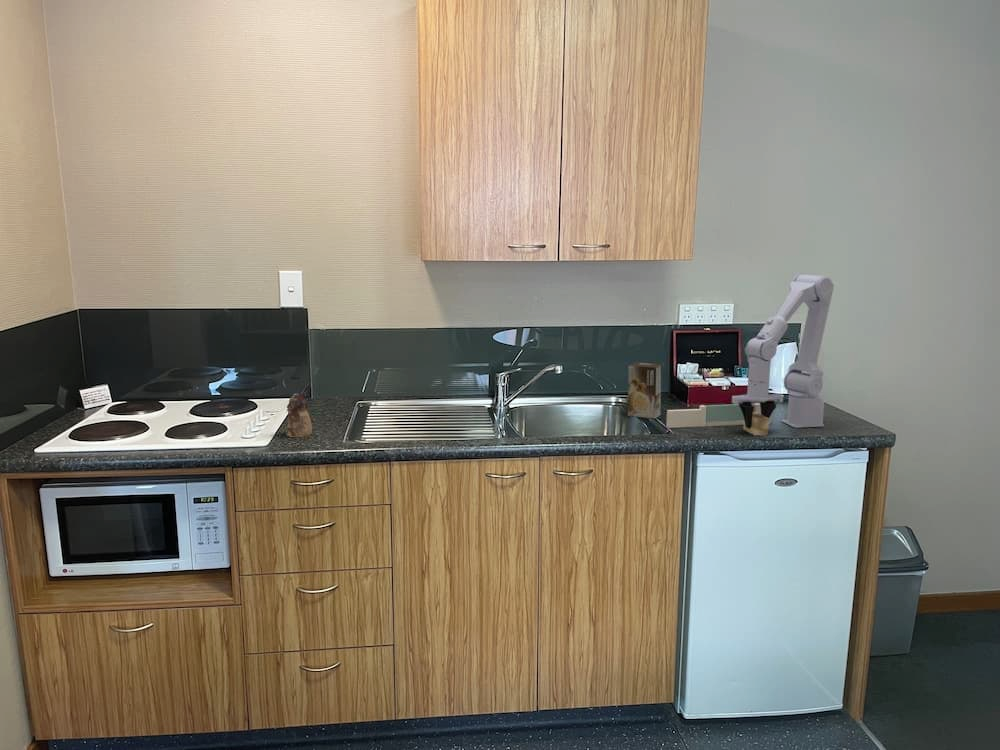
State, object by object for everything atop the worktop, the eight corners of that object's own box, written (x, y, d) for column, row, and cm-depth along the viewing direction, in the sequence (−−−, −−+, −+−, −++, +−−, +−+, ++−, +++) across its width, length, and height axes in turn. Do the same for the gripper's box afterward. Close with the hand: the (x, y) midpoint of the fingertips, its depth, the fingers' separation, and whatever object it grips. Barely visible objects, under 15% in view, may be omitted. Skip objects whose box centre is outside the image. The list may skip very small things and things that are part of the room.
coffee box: (661, 414, 243) (663, 364, 240) (655, 419, 238) (657, 367, 234) (633, 411, 247) (634, 361, 244) (626, 416, 242) (627, 365, 239)
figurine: (285, 432, 224) (282, 391, 221) (310, 430, 226) (308, 389, 224) (287, 438, 217) (285, 397, 215) (313, 436, 220) (311, 394, 217)
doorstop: (756, 429, 226) (757, 412, 225) (767, 435, 220) (769, 418, 219) (743, 429, 226) (744, 412, 225) (754, 436, 219) (755, 418, 218)
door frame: (768, 422, 234) (769, 402, 232) (771, 423, 232) (772, 404, 231) (666, 426, 229) (666, 406, 228) (668, 428, 227) (669, 408, 226)
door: (753, 418, 232) (754, 403, 231) (754, 419, 231) (755, 404, 230) (705, 420, 230) (706, 405, 229) (707, 421, 229) (707, 406, 228)
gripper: (740, 384, 215) (737, 431, 217) (789, 382, 217) (786, 429, 220) (729, 379, 222) (727, 425, 224) (777, 377, 224) (774, 423, 226)
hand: (755, 427), depth 222 cm, fingers closed on doorstop, 4 cm apart
